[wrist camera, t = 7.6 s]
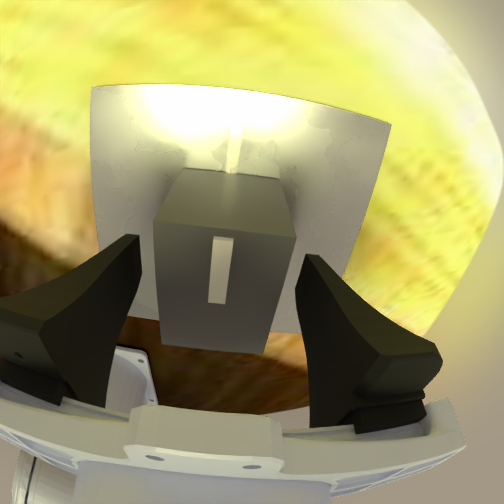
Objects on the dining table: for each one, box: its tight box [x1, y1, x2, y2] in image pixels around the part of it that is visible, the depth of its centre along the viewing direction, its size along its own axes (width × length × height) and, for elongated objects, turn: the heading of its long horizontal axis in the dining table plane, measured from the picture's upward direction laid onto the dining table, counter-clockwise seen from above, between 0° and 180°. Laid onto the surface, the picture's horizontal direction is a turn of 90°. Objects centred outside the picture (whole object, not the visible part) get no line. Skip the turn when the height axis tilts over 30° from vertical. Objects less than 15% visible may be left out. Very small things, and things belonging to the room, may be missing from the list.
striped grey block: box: [153, 168, 297, 354], centre depth 12 cm, size 6×4×5 cm
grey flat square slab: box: [90, 84, 392, 334], centre depth 13 cm, size 14×14×3 cm
